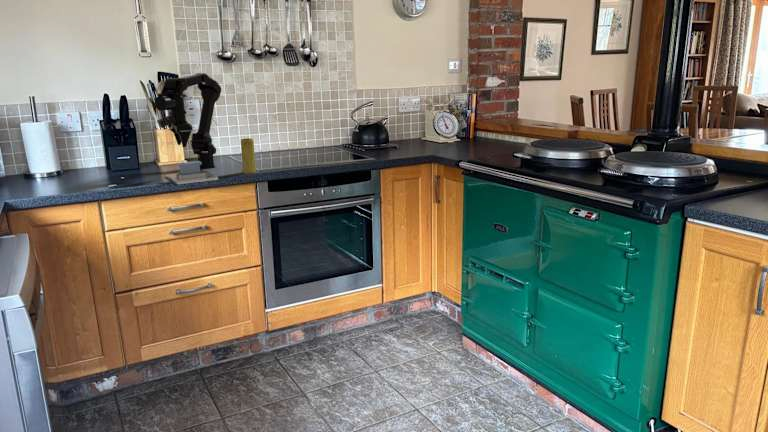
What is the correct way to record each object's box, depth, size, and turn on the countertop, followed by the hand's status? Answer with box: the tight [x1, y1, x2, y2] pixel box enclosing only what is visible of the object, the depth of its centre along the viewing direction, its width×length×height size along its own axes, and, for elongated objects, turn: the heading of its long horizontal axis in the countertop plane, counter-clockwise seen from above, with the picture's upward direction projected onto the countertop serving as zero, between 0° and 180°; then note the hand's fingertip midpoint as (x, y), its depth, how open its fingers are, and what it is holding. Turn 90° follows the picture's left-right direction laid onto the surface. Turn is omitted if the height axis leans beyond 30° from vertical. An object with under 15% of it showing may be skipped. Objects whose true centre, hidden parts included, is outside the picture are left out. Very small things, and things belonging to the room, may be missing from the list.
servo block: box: [176, 160, 202, 175], centre depth 232 cm, size 9×4×7 cm, turn 122°
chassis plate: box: [165, 169, 219, 185], centre depth 236 cm, size 16×20×3 cm
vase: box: [240, 138, 258, 174], centre depth 245 cm, size 6×6×14 cm
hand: (181, 146), depth 243 cm, fingers open, 9 cm apart
